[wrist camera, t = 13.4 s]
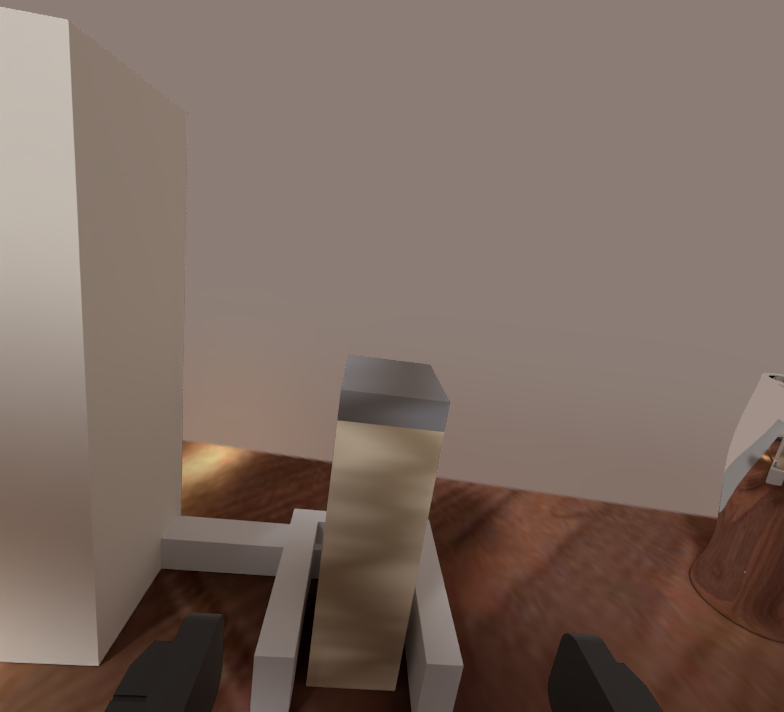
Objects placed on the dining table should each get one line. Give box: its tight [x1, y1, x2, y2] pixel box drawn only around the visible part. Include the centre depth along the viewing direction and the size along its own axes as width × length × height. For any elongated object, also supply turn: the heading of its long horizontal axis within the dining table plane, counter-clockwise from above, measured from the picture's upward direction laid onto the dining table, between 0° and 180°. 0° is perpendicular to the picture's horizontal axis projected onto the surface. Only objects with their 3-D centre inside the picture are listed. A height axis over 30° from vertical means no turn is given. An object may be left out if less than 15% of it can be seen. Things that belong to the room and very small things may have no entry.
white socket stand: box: [0, 7, 464, 712], centre depth 18 cm, size 21×10×24 cm, turn 94°
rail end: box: [306, 355, 450, 691], centre depth 19 cm, size 4×5×14 cm
